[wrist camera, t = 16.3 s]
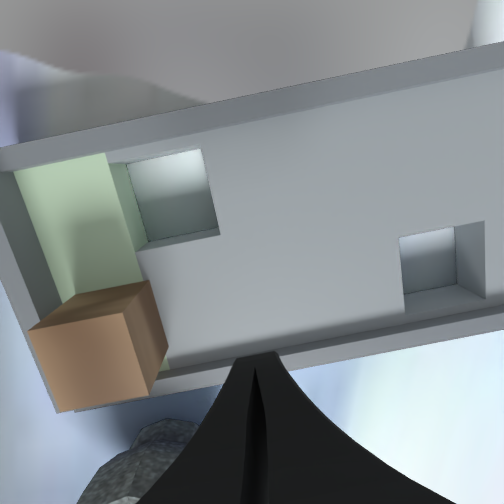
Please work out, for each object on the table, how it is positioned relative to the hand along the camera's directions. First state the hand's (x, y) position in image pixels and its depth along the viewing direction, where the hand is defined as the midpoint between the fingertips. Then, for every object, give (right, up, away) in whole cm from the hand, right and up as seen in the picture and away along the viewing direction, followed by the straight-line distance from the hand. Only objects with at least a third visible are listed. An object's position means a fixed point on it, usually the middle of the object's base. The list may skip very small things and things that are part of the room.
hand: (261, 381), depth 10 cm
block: (-7, 0, +7) cm, 10 cm away
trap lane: (+1, +5, +9) cm, 10 cm away
